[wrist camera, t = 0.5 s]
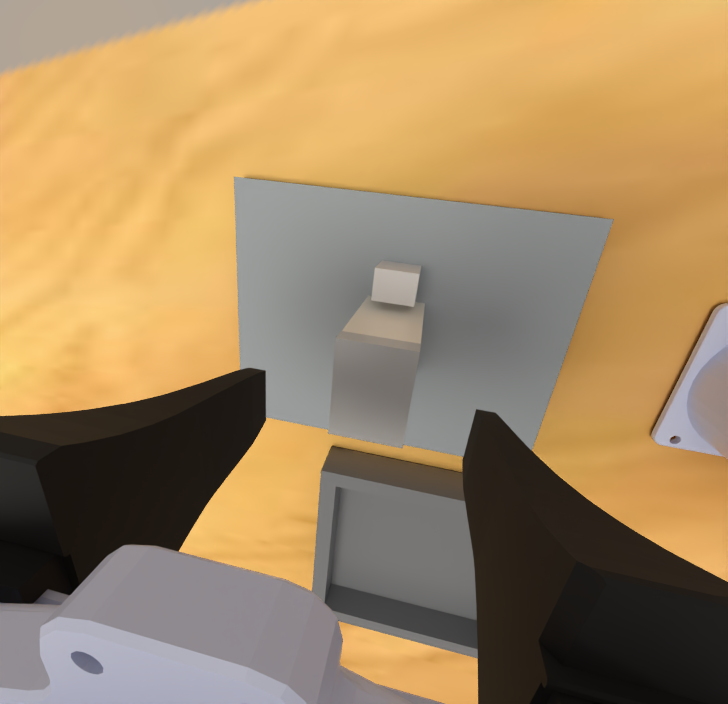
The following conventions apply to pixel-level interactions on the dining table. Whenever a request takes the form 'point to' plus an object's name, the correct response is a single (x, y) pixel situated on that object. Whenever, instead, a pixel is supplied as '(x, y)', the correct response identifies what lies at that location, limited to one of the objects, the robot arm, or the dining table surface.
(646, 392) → the dining table surface
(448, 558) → the parts tray
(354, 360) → the block
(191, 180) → the dining table surface
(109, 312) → the dining table surface
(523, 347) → the panel
